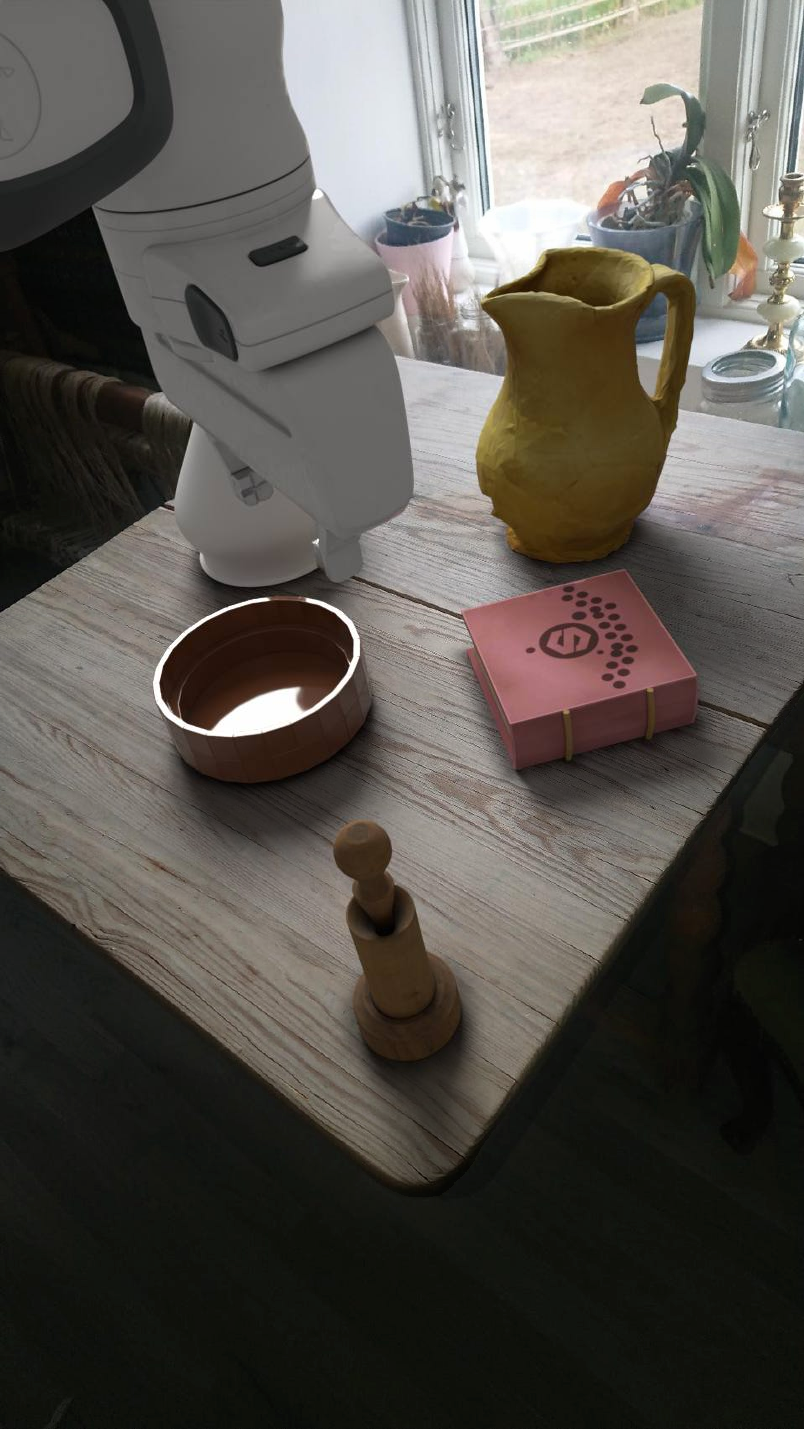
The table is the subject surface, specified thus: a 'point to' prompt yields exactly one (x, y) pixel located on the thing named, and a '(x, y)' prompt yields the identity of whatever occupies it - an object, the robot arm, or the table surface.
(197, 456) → the vase
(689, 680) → the book
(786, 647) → the table surface
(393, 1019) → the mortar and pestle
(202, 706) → the bowl
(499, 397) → the pitcher
